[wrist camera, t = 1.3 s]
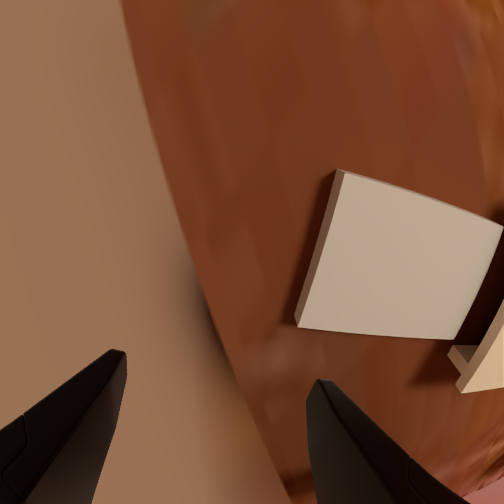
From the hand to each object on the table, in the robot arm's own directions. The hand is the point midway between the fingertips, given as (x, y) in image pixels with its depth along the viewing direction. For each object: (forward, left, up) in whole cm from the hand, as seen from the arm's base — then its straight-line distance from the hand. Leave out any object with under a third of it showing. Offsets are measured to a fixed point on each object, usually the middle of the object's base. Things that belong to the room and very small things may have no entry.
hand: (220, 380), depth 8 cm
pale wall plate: (0, -13, -13) cm, 18 cm away
